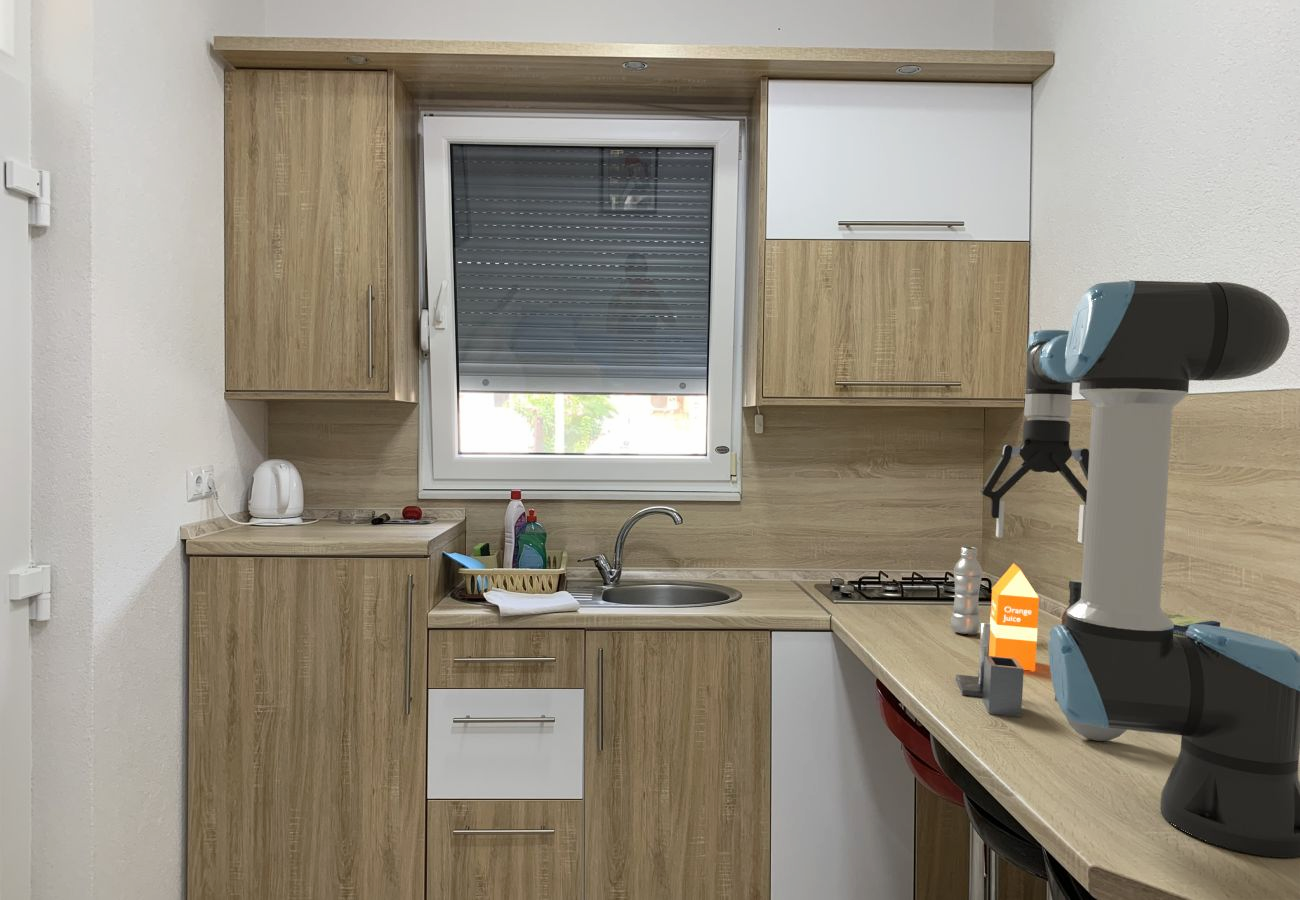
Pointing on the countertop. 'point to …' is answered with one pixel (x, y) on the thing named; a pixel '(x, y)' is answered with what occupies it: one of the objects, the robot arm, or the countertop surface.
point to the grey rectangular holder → (1003, 686)
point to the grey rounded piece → (1096, 731)
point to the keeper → (973, 683)
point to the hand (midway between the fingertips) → (1040, 539)
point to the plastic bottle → (966, 592)
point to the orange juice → (1014, 619)
